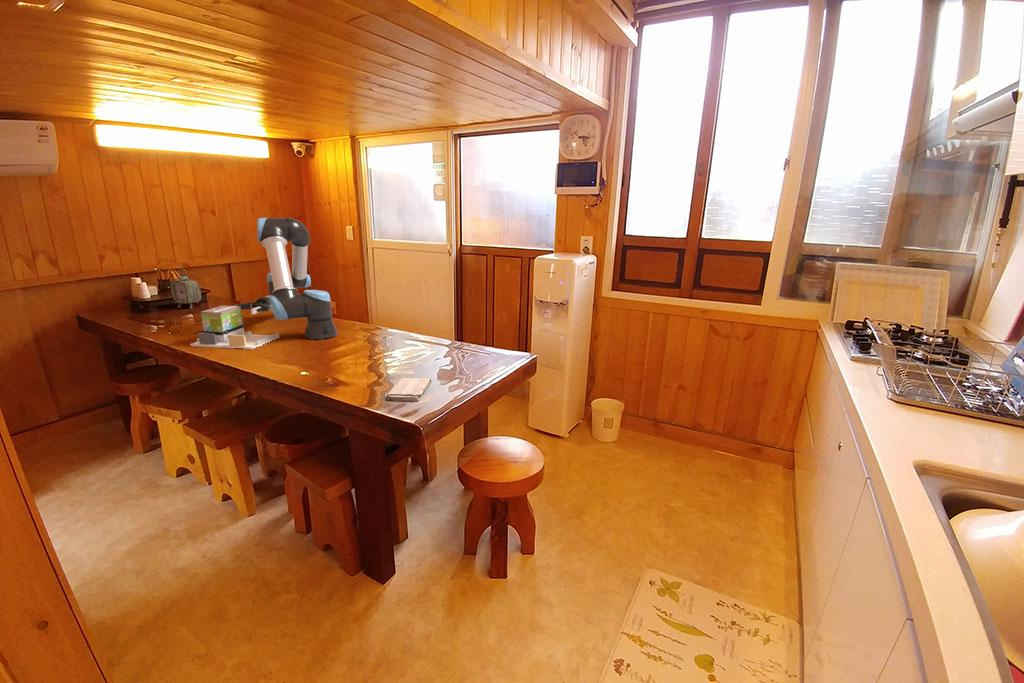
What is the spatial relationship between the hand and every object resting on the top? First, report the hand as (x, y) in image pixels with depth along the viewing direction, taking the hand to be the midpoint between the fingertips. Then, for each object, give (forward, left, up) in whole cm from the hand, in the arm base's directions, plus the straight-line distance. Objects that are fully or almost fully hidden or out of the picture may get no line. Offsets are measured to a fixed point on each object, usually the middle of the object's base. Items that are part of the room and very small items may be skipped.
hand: (239, 311), depth 226 cm
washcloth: (-111, +59, -12) cm, 126 cm away
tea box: (0, +12, -11) cm, 16 cm away
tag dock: (-8, +14, -12) cm, 20 cm away
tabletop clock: (+75, -50, -12) cm, 91 cm away
